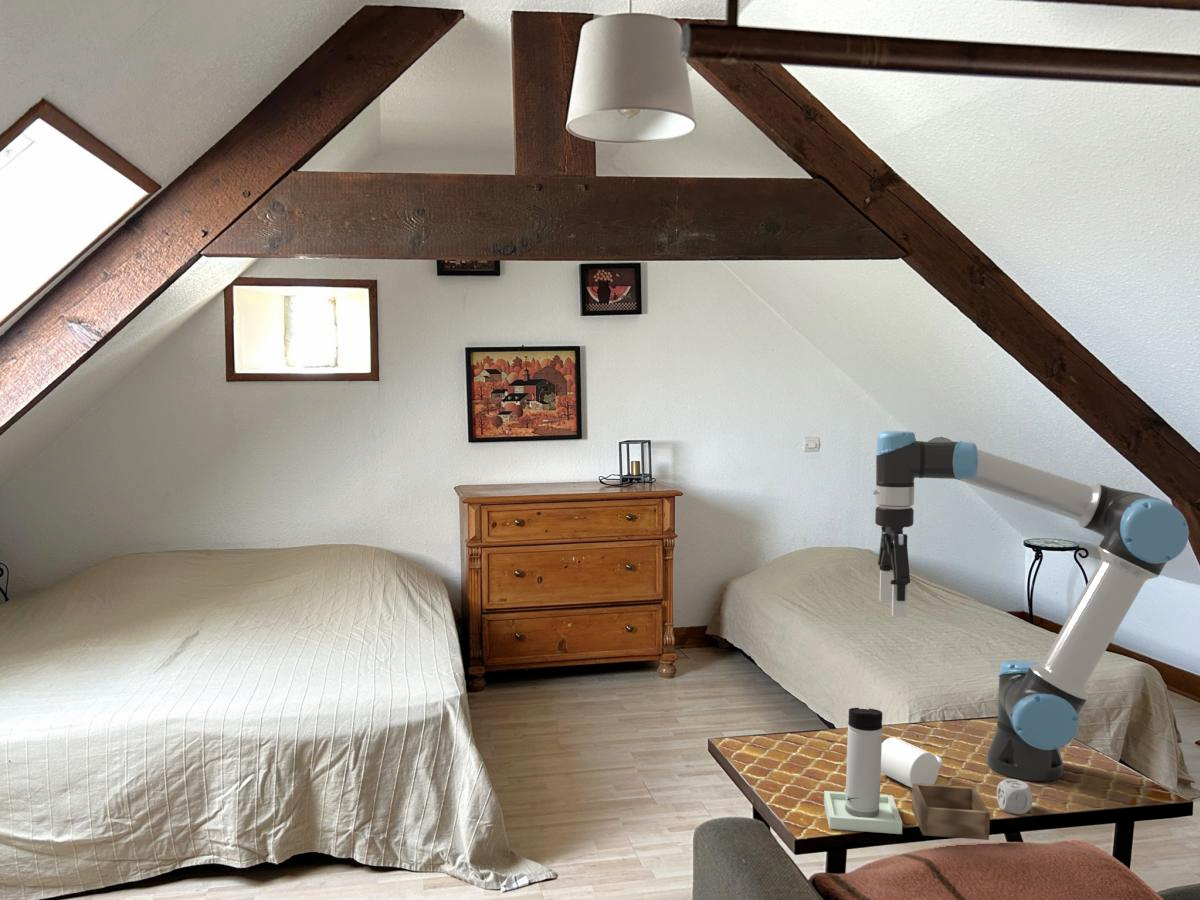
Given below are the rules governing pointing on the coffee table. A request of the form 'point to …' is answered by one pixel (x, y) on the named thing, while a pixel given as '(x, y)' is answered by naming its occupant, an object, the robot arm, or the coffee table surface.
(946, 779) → the coffee table surface
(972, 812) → the holder
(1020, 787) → the die
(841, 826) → the tray
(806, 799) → the coffee table surface
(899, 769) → the mug
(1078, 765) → the coffee table surface
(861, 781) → the travel mug
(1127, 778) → the coffee table surface
